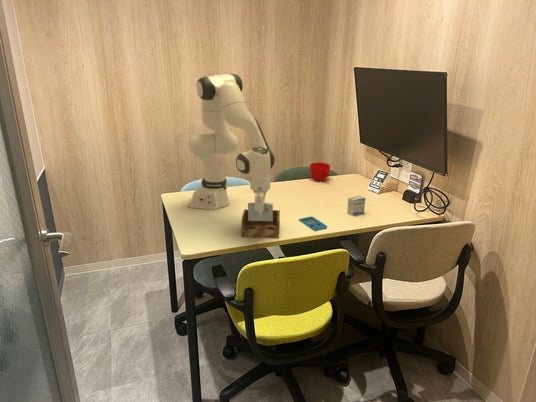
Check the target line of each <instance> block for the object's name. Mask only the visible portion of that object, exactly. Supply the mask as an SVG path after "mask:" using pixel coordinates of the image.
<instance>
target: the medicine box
mask: <svg viewBox="0 0 536 402" xmlns="http://www.w3.org/2000/svg"><path fill="white" fill-rule="evenodd" d="M365 207H366V197H365V196H362V195H357V196H352V197H348V200H347V212H346V214H349V215H350V216H352V217H353V216H358V215H362V214H365V209H366V208H365Z"/></svg>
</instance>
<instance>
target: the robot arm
mask: <svg viewBox="0 0 536 402" xmlns="http://www.w3.org/2000/svg"><path fill="white" fill-rule="evenodd" d="M243 85H244V84H243V81H242V78H241V76H239V75H238V74H236V73H229V74H228V73H222V74H215V75H210V76H203V77H200V78H198V79H197V82H196V92H197V95H198V97H199V98H200V99H201V117H202V118H201V120H202V121H201V122H202V124H203V125H204V126H205V127H206V128H209V129H211V130H213V131H214V132H212V133H198V134H195V135H192V136H191V137H190V138H189V141H188V148H189V150H190V153H192V155H194V156H196V157H197V158H198V159H199V160H200V162H201V163H202V166H203V171H204V177H202V178H201V186H199V187H198V188H197V189H195V191H193V193H192V197H191V199H189V201H188V203H187V206H188V208H190V209H191V208H193V209H200V210H201V209H202V210H203V209H204V210H211V211H215V210H218V209H221V208H225V207H228V206H229V205H230V199H229V197H228V191H227V189H228V181H227V178H226V166H225V164H224V162H222V161H221V160H218V159H216V158H215V157H214V155H227V154H231V153H234V152H236V151H237V150H238V147H239V139H238V136H236V135H235V133H233V132H232V131H231V130H229V128H228V126H227V124H228V125H229V126H232V127H234V128H237V129H240V130H244V131H246V132H247V133H248V134H249V135H250V137H251V139H252V141H253V144H254V145H255V146H254V147H252V148H251V149H250V150H248V151H244V152H240V153H238V155H237V156H236V159H235V166H236V167H235V168H236V170H237V171H239V173H241V174H245V175H250V178H249V180H250V181H249V183H250V184H249V185H250V187H249V188H250V190H251V191H252V192H253V193H254V203H255V212H258V215H259V216H262V212H263V210H264V203H266V202H265V201H266V195H267V193H269V192H268V191H269V190H271V174H270V173H271V170H272V168H273V166H274V165H275V161H276V157H275V154H274V153H273V151H272V150H271V148H270V146H269V145H268V142H267V139H266V137H265V135H264V132H263V130H262V128H261V126H260V124H259V121H258V120H257V117H255V116H254V115H252V113H251V112H250V110H249V109H248V107H247V104H246V102H245V98H244V95H243V93H242V91H243V87H244V86H243Z"/></svg>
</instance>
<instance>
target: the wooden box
mask: <svg viewBox="0 0 536 402" xmlns="http://www.w3.org/2000/svg"><path fill="white" fill-rule="evenodd" d="M280 214H281V210H279V209H278V210H277V209H273V221H248V209H247V208H245V209H243V214H242V216H241V230H240V231H241V238H268V239H269V238H270V239H273V238H274V239H279V238H280V225H281V224H280V221H281V220H280V219H281V218H280Z"/></svg>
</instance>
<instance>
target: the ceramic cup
mask: <svg viewBox="0 0 536 402" xmlns="http://www.w3.org/2000/svg"><path fill="white" fill-rule="evenodd" d="M309 169H310V170H309V172H310V175H311V177H312V179H313V180H314V181H316V182H324V181H325V180H326V179H327V178H328V177H330V170H331V165H330V164H329V163H326V162H313V163H310V165H309Z"/></svg>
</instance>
